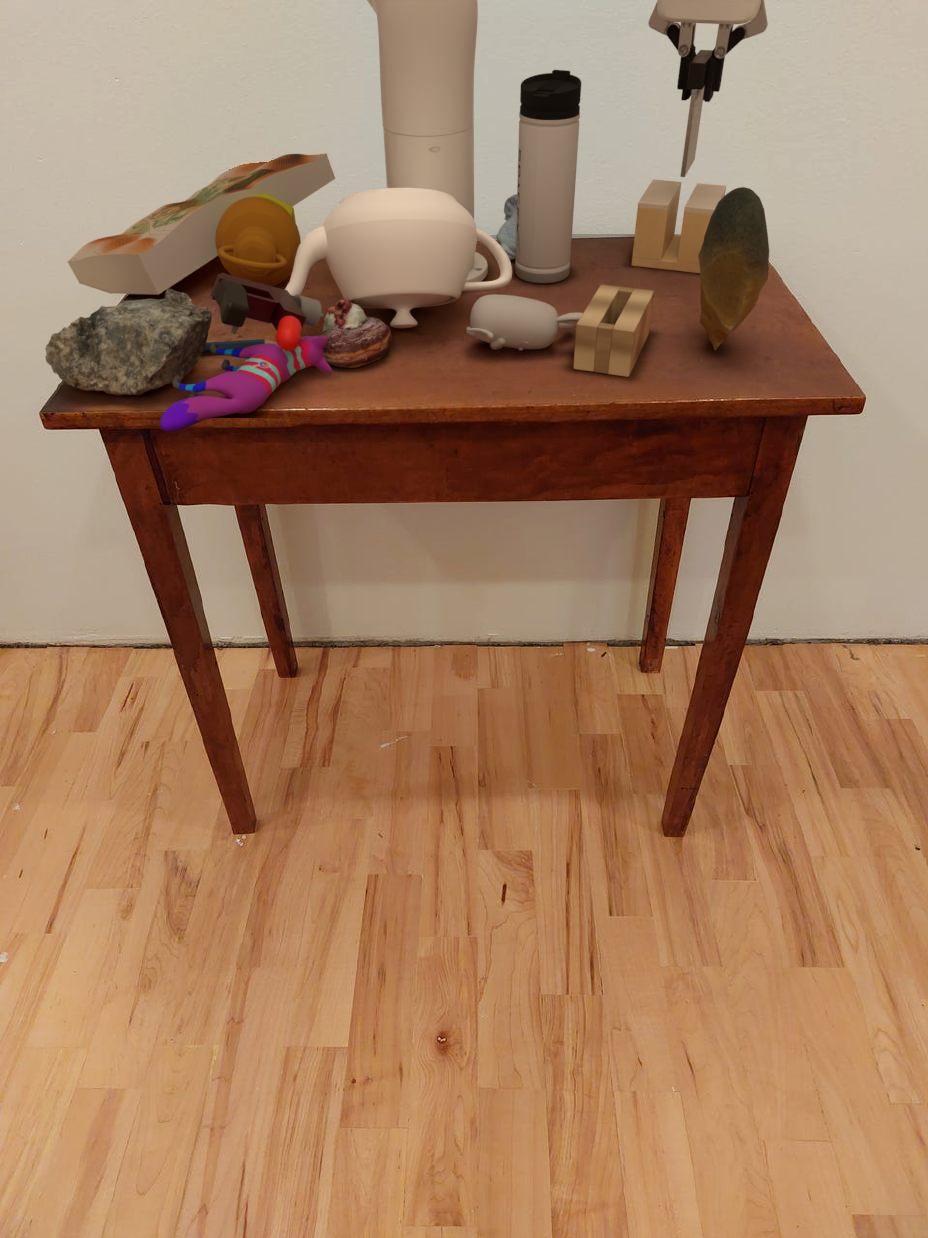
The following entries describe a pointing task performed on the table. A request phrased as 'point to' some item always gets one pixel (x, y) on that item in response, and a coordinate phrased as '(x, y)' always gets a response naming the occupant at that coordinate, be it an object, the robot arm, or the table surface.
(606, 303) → the knife block
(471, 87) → the robot arm
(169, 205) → the topographic model
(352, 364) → the pastry
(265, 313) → the toy gun
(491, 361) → the table surface
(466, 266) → the teapot
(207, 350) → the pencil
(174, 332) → the rock
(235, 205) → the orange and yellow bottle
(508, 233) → the figurine
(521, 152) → the travel mug
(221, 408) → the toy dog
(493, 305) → the rabbit figurine
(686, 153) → the knife
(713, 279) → the decorative stone
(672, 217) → the u-shaped wooden stand
